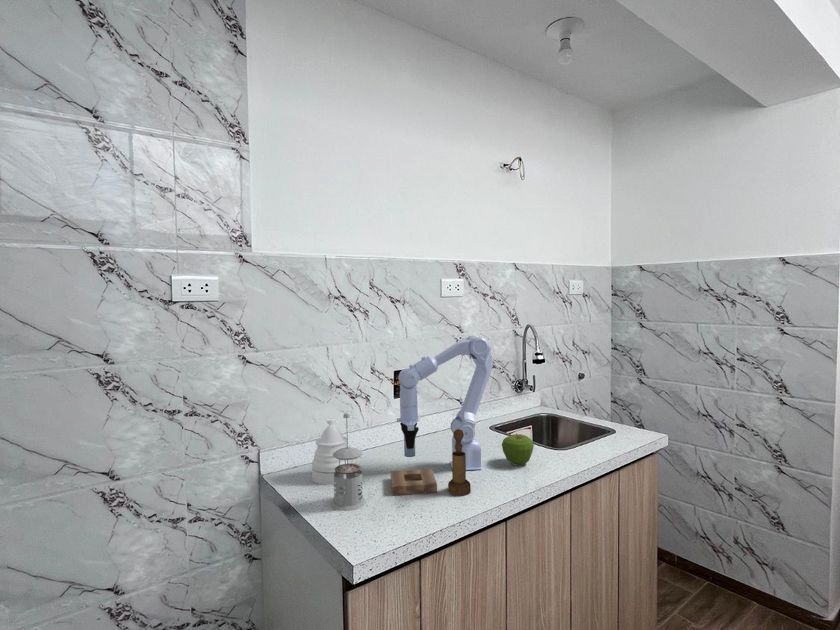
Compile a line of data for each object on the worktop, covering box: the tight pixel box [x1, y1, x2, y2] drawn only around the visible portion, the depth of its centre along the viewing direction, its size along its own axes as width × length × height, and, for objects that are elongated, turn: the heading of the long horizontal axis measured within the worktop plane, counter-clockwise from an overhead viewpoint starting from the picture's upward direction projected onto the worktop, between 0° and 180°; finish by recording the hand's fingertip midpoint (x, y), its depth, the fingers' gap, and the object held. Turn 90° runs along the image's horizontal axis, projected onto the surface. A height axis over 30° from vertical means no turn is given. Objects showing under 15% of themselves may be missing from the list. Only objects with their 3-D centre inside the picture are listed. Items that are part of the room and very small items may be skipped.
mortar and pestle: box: [447, 429, 472, 497], centre depth 126 cm, size 7×6×18 cm
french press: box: [330, 412, 367, 512], centre depth 121 cm, size 10×12×25 cm
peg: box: [403, 436, 416, 458], centre depth 142 cm, size 4×4×8 cm
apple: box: [501, 434, 535, 466], centre depth 147 cm, size 11×10×10 cm
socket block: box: [390, 468, 438, 496], centre depth 131 cm, size 13×12×2 cm
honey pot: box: [311, 418, 354, 486], centre depth 139 cm, size 13×13×18 cm
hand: (409, 446), depth 142 cm, fingers closed on peg, 4 cm apart
